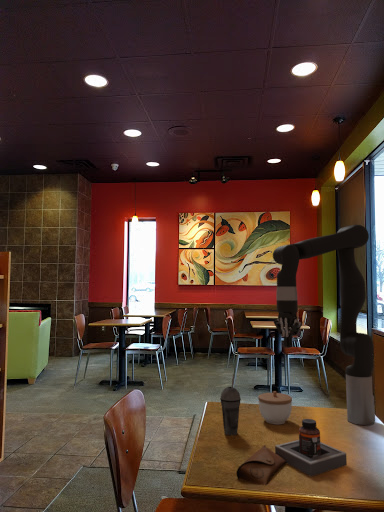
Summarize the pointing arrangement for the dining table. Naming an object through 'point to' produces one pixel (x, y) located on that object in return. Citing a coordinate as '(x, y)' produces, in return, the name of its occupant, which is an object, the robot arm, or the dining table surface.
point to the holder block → (311, 466)
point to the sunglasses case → (260, 466)
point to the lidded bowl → (275, 407)
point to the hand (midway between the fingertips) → (288, 347)
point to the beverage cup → (230, 409)
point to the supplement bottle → (309, 439)
